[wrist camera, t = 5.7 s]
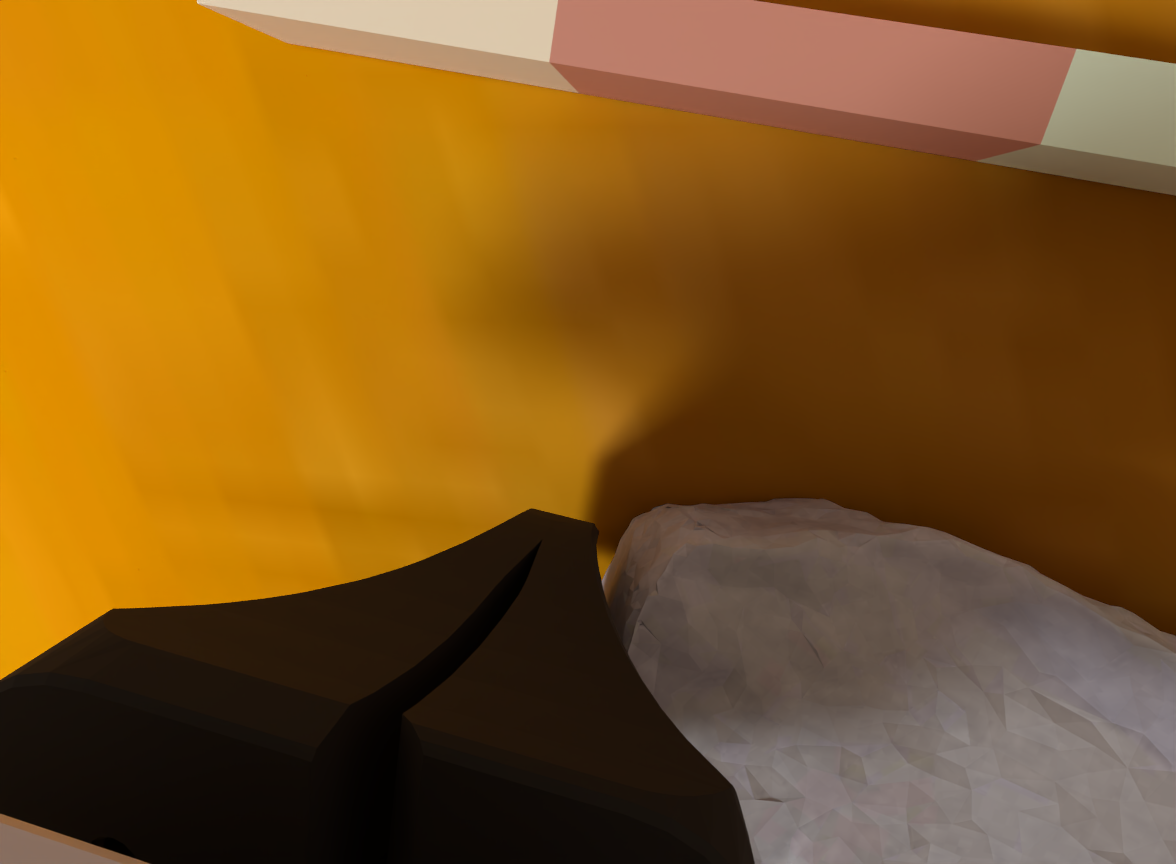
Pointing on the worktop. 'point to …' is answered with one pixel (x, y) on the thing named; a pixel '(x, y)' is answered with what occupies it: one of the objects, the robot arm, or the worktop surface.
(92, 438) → the worktop surface
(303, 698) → the robot arm
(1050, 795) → the stone block
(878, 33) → the trap lane
